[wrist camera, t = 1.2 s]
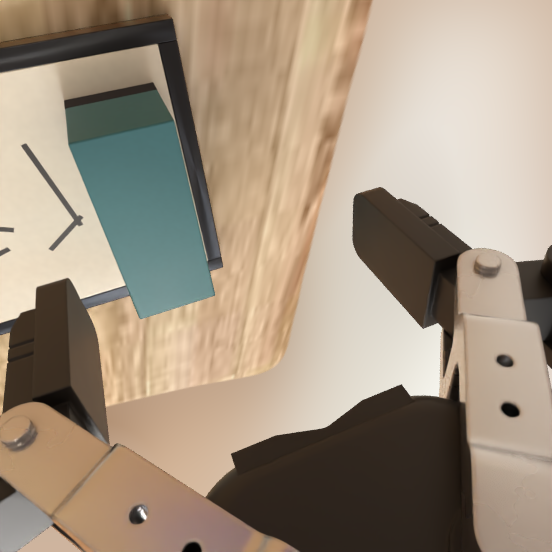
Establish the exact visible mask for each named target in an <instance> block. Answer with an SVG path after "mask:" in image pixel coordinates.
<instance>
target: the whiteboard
mask: <svg viewBox="0 0 552 552" xmlns="http://www.w3.org/2000/svg"><path fill="white" fill-rule="evenodd" d="M151 82H153V83H154V85H155V87H156V88H157V91H158V92H159V94H160V96H161V98H162V100H163V101H164V103H165V105H166V107H167V108H168V110H169V112H170V114H171V116H172V117H173V119H174V121H175V125H176V129H177V134H178V138H179V142H180V146H181V151H182V155H183V159H184V164H185V168H186V172H187V176H188V181H189V185H190V189H191V194H192V198H193V202H194V206H195V211H196V215H197V219H198V223H199V228H200V232H201V236H202V241H203V245H204V249H205V253H206V258H207V262H208V266H209V271H212V270H215V269H219V268H222V267H223V263H222V258H221V253H220V248H219V243H218V238H217V233H216V229H215V224H214V219H213V214H212V209H211V204H210V199H209V194H208V189H207V185H206V180H205V175H204V170H203V165H202V160H201V155H200V150H199V146H198V141H197V136H196V131H195V126H194V121H193V116H192V111H191V107H190V102H189V97H188V92H187V87H186V82H185V77H184V72H183V68H182V63H181V58H180V53H179V48H178V43H177V38H176V33H175V28H174V23H173V19H172V18H171V17H170V16H169V15H168V14H165V15H159V16H153V17H147V18H141V19H135V20H130V21H124V22H118V23H112V24H106V25H100V26H94V27H89V28H83V29H77V30H71V31H65V32H59V33H54V34H48V35H42V36H36V37H30V38H24V39H19V40H13V41H7V42H1V43H0V335H3V334H6V333H9V332H10V330H11V328H12V327H13V325H14V323H15V322H16V320H17V318H18V317H19V315H20V313H22V312H25V311H28V310H31V309H35V301H36V288H37V287H38V286H41V285H45V284H48V283H51V282H55V281H58V280H62V279H65V278H69V279H70V280H71V282H72V283H73V285H74V287H75V289H76V291H77V293H78V295H79V297H80V299H81V301H82V303H83V305H84V307H85V308H86V309H88V308H91V307H94V306H97V305H101V304H104V303H107V302H111V301H114V300H117V299H120V298H124V297H127V296H130V294H129V292H128V289H127V287H126V284H125V282H124V280H123V277H122V275H121V272H120V270H119V267H118V265H117V263H116V260H115V258H114V255H113V253H112V250H111V248H110V245H109V243H108V241H107V238H106V236H105V233H104V231H103V228H102V226H101V224H100V221H99V219H98V216H97V214H96V211H95V209H94V207H93V204H92V202H91V199H90V197H89V194H88V192H87V190H86V187H85V185H84V182H83V180H82V177H81V175H80V172H79V170H78V168H77V165H76V163H75V160H74V158H73V155H72V153H71V151H70V148H69V146H68V137H67V126H66V115H65V107H64V100H68V99H73V98H78V97H83V96H88V95H93V94H97V93H102V92H107V91H112V90H117V89H122V88H127V87H132V86H137V85H142V84H147V83H151Z"/></svg>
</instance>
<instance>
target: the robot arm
mask: <svg viewBox="0 0 552 552" xmlns="http://www.w3.org/2000/svg"><path fill="white" fill-rule="evenodd" d="M353 203H354V204H353V245H354V248H355V250H356V253H357V255H358V256H359V257H360V259H361V260H362V261H363V262H364V263H365V264H366V265H367V267H368V268H369V269H370V270H371V271H372V272H373V273H374V274H375V276H376V277H377V278H378V279H379V280H380V281H381V282H382V283H383V285H384V286H385V287H386V288H387V289H388V290H389V291H390V292H391V293H392V295H393V296H394V297H395V298H396V299H397V300H398V301H399V302H400V304H402V306H403V307H404V308H405V309H406V310H407V311H408V312H409V314H410V315H411V316H412V317H413V318H414V319H415V320H416V322H417V323H418V324H419V325H420V326H421V327H422V328H423V329H424V328H426V327H429V326H431V325H434V324H436V323H439V324H440V325H441V326H442V332H441V352H440V391H439V397H435V396H410V395H409V394H408V392H407V391H406V390H405V388H404V387H403V386H402V385H399V386H396V387H394V388H391V389H389V390H387V391H384V392H382V393H379V394H377V395H374V396H372V397H369V398H367V399H364V400H362V401H361V402H360V403H358V404H357V405H356V406H354V407H353V408H352V409H350V410H349V411H348V412H346V413H345V414H344V415H342V416H341V417H340V418H338V419H337V420H336V421H335V422H333V423H332V424H331V425H329V426H328V427H326V428H322V429H317V430H310V431H303V432H296V433H290V434H283V435H277V436H274V437H271V438H269V439H266V440H264V441H262V442H259V443H256V444H254V445H251V446H249V447H247V448H244V449H242V450H239V451H237V452H235V453H232V454H231V455H232V459H233V462H234V465H235V468H234V469H232V470H231V471H230V472H228V473H227V474H226V475H225V476H224V477H223V478H222V479H221V480H219V482H217V483H216V485H215V486H214V487H213V488H212V489H211V491H210V492H209V493H208V495H207V496H206V498H205V497H204V496H202V495H200V494H199V493H197V492H196V491H194V490H193V489H191V488H190V487H188V486H186V485H185V484H183V483H182V482H180V481H179V480H177V479H175V478H174V477H172V476H171V475H169V474H167V473H166V472H165V471H163V470H162V469H160V468H158V467H157V466H155V465H154V464H152V463H151V462H149V461H147V460H146V459H144V458H143V457H141V456H140V455H138V454H137V453H135V452H134V451H132V450H130V449H129V448H127V447H125V446H123V445H121V444H115V445H114V446H113V447H112V446H110V445H109V435H108V426H107V418H106V408H105V399H104V389H103V380H102V371H101V362H100V353H99V344H98V338H97V334H96V331H95V328H94V325H93V323H92V320H91V318H90V316H89V314H88V312H87V310H86V308H85V307H84V305H83V303H82V301H81V299H80V297H79V295H78V293H77V291H76V289H75V287H74V285H73V283H72V282H71V280H70V279H69V278H65V279H62V280H58V281H55V282H51V283H48V284H45V285H41V286H38V287H37V288H36V301H35V309H31V310H28V311H25V312H22V313H20V315H19V317H18V318H17V320H16V322H15V323H14V325H13V327H12V328H11V330H10V340H9V348H10V349H9V350H8V362H9V363H7V371H6V381H5V392H4V402H3V413H2V415H1V416H0V552H17V551H18V550H20V549H21V548H22V547H24V546H25V545H26V544H28V543H29V542H30V541H31V540H33V539H34V538H35V537H37V536H38V535H40V534H41V533H42V532H44V531H45V530H46V529H48V528H49V527H50V526H52V527H53V528H54V529H55V530H57V531H58V532H59V533H60V534H61V535H63V536H64V537H65V538H66V539H67V540H68V541H70V542H71V543H72V544H73V545H74V546H75V547H77V548H78V549H79V550H80V551H81V552H552V389H551V383H550V378H549V374H548V368H547V365H548V366H550V368H551V369H552V245H551V246H550V247H549V248H548V250H547V253H546V255H545V258H544V260H536V261H524V262H515V261H514V260H513V259H512V258H510V257H509V256H508V255H506V254H504V253H502V252H499V251H496V250H492V249H486V248H477V249H472V248H471V247H469V246H468V245H467V244H465V243H464V242H463V241H462V240H461V239H459V238H458V237H457V236H455V235H454V234H453V233H452V232H450V231H449V230H448V229H447V228H446V227H444V226H443V225H442V224H439V222H438V221H437V220H436V219H434V218H433V217H432V216H431V217H430V216H429V214H428V213H427V212H426V211H424V210H423V209H422V208H421V207H419V206H418V205H416V204H414V203H411V202H408V201H406V200H403V199H398V200H397V199H396V198H395V197H393V196H392V195H391V194H390V193H389V192H387V191H386V190H385V189H384V188H381V187H379V188H375V189H372V190H368V191H365V192H362V193H358V194H356V195H355V197H354V202H353Z"/></svg>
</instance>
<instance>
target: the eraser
mask: <svg viewBox="0 0 552 552" xmlns="http://www.w3.org/2000/svg"><path fill="white" fill-rule="evenodd" d="M64 107H65V115H66V126H67V137H68V146H69V148H70V151H71V153H72V155H73V158H74V160H75V163H76V165H77V168H78V170H79V172H80V175H81V177H82V180H83V182H84V185H85V187H86V190H87V192H88V194H89V197H90V199H91V202H92V204H93V207H94V209H95V211H96V214H97V216H98V219H99V221H100V224H101V226H102V228H103V231H104V233H105V236H106V238H107V241H108V243H109V245H110V248H111V250H112V253H113V255H114V258H115V260H116V263H117V265H118V267H119V270H120V272H121V275H122V277H123V280H124V282H125V284H126V287H127V289H128V292H129V294H130V297H131V299H132V301H133V304H134V306H135V309H136V311H137V314H138V316H139V318H140V319H143V318H146V317H149V316H153V315H156V314H159V313H162V312H165V311H168V310H171V309H175V308H178V307H181V306H184V305H187V304H190V303H193V302H197V301H200V300H203V299H206V298H209V297H212V296H215V292H214V288H213V283H212V279H211V275H210V271H209V266H208V262H207V258H206V253H205V249H204V245H203V241H202V236H201V232H200V228H199V223H198V219H197V215H196V211H195V206H194V202H193V198H192V194H191V189H190V185H189V181H188V176H187V172H186V168H185V164H184V159H183V155H182V151H181V146H180V142H179V138H178V134H177V129H176V125H175V121H174V119H173V117H172V116H171V114H170V112H169V110H168V108H167V107H166V105H165V103H164V101H163V100H162V98H161V96H160V94H159V92H158V91H157V88H156V87H155V85H154V83H153V82H151V83H147V84H142V85H137V86H132V87H127V88H122V89H117V90H112V91H107V92H102V93H97V94H93V95H88V96H83V97H78V98H73V99H68V100H64Z"/></svg>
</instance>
